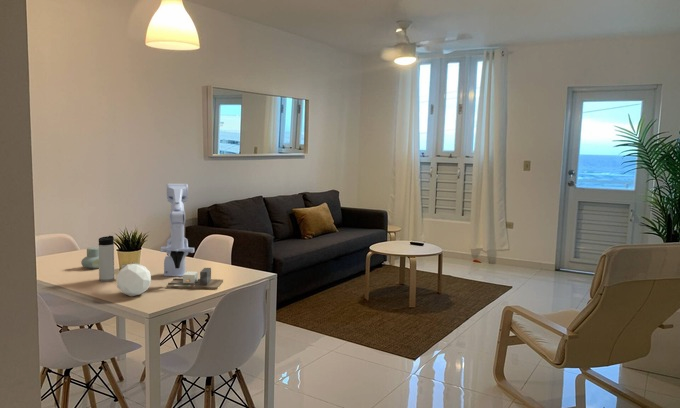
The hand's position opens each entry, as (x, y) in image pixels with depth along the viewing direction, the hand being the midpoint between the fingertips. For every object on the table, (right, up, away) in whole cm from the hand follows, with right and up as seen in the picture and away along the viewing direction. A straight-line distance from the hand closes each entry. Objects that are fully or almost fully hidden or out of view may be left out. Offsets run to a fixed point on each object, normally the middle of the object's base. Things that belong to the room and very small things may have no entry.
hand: (177, 267), depth 227 cm
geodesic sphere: (-13, -9, -16) cm, 23 cm away
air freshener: (-50, -3, +25) cm, 56 cm away
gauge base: (+8, -8, +1) cm, 11 cm away
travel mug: (-33, -6, +4) cm, 34 cm away
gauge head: (+6, -7, -1) cm, 9 cm away
